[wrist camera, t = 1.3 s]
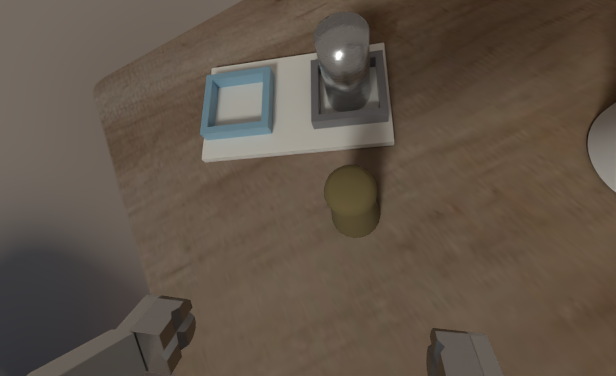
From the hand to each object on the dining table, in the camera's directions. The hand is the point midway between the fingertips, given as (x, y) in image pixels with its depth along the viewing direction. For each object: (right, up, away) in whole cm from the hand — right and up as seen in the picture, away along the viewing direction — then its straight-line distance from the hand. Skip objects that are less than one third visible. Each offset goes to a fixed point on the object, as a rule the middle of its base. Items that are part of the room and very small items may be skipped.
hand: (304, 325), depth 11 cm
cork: (+6, +1, +29) cm, 30 cm away
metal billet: (+6, +18, +34) cm, 38 cm away
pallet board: (-2, +17, +36) cm, 40 cm away
